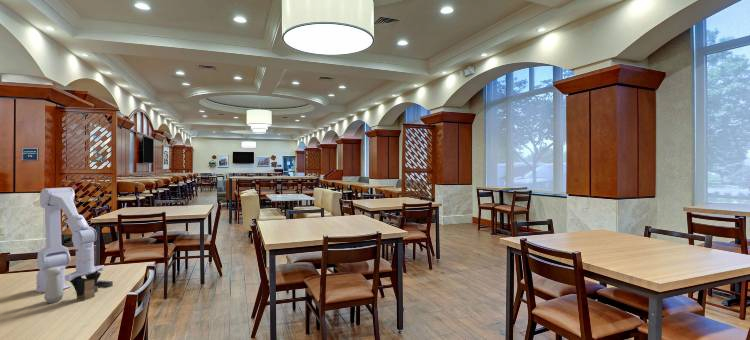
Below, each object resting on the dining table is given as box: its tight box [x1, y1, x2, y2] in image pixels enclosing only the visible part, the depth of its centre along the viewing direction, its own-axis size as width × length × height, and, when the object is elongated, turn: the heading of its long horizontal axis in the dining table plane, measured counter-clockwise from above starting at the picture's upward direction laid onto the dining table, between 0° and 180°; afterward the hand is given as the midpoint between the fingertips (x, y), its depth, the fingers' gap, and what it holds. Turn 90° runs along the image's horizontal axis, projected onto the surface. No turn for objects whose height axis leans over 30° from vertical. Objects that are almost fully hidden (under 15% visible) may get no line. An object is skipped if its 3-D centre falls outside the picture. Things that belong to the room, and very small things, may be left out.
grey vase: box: [43, 267, 65, 304], centre depth 142 cm, size 6×6×13 cm
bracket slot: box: [95, 279, 114, 293], centre depth 157 cm, size 7×9×2 cm
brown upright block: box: [76, 278, 96, 301], centre depth 146 cm, size 4×4×7 cm
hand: (85, 293), depth 146 cm, fingers closed on brown upright block, 4 cm apart
